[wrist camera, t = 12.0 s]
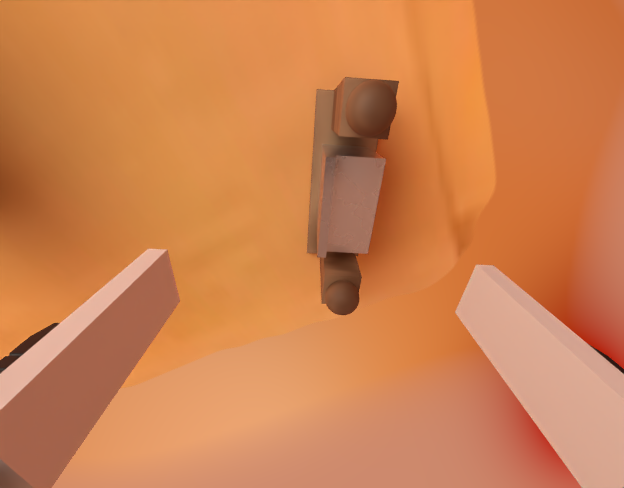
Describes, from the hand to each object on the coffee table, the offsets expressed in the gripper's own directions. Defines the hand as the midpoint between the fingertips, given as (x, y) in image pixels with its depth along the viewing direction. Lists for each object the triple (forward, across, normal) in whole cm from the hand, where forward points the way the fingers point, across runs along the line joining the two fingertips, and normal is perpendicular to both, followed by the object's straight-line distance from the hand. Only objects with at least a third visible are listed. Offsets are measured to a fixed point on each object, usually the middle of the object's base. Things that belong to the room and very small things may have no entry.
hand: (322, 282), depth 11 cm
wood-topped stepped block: (+20, +3, -1) cm, 20 cm away
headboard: (+21, +3, -1) cm, 21 cm away
